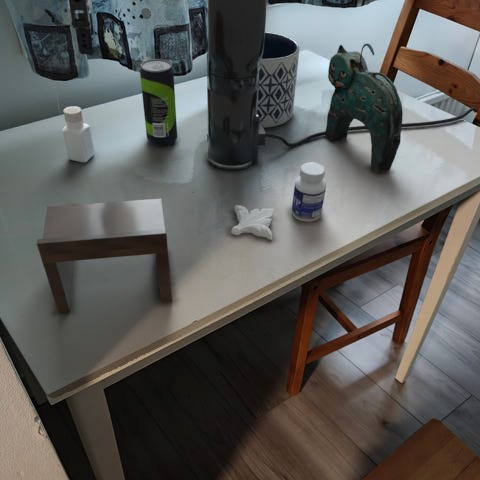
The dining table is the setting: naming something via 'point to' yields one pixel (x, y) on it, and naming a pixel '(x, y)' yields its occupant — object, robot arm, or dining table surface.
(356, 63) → the ceramic cat
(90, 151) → the salt shaker
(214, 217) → the dining table surface
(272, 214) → the acanthus leaf ornament
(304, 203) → the pill bottle
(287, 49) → the planter
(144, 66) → the beverage can
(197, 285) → the dining table surface
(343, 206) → the dining table surface
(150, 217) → the wooden table
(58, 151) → the dining table surface
